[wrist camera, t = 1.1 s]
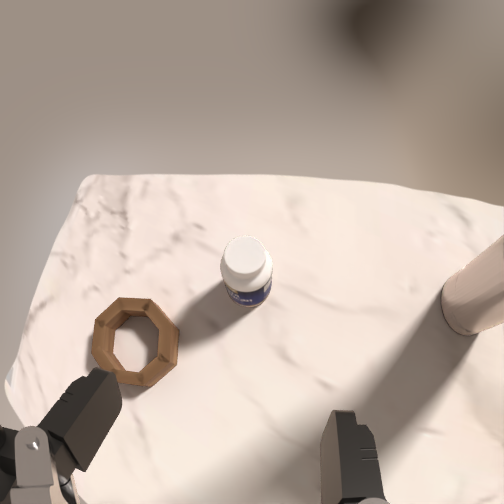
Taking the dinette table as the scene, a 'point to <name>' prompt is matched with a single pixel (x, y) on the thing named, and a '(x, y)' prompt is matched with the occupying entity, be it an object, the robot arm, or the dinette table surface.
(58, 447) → the robot arm
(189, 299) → the dinette table surface
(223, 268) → the pill bottle
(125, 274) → the dinette table surface
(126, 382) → the walnut ring
